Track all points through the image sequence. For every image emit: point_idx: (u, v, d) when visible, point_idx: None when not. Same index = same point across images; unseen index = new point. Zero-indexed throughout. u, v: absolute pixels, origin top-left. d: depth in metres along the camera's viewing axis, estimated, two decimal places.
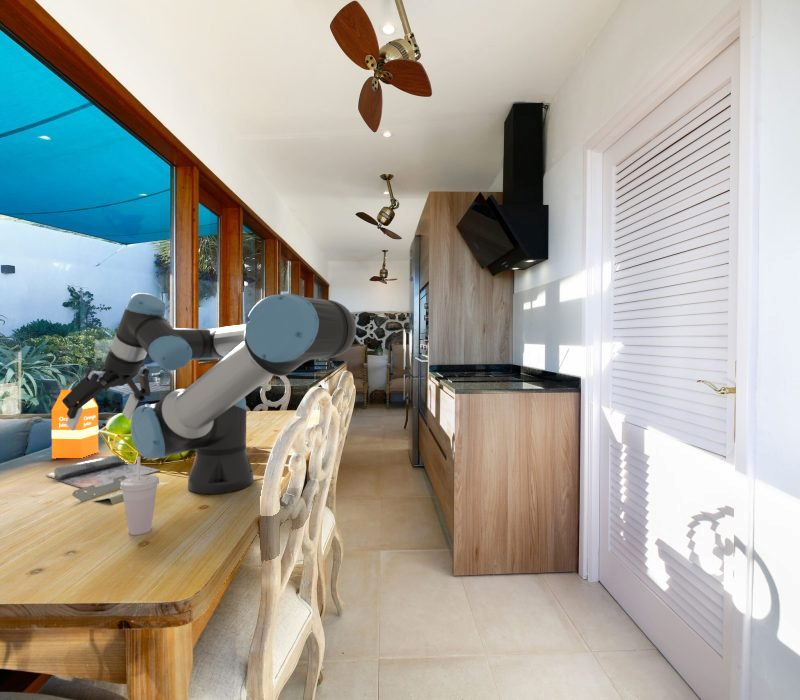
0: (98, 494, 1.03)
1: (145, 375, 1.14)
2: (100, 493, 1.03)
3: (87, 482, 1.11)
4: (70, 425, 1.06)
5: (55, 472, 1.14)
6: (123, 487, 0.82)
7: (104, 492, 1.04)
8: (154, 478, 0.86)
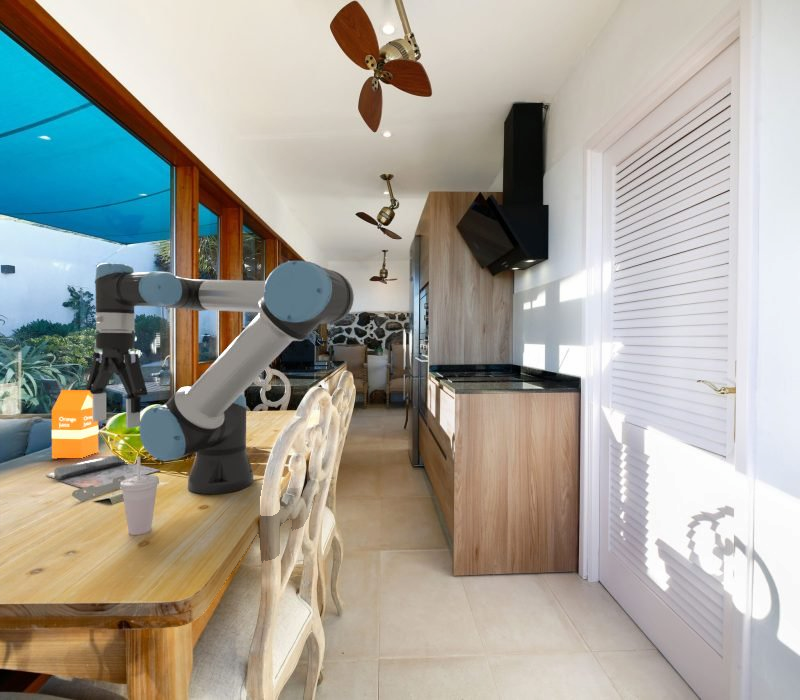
0: (97, 494, 1.03)
1: None
2: (99, 493, 1.03)
3: (87, 482, 1.11)
4: (135, 423, 1.00)
5: (55, 472, 1.14)
6: (123, 487, 0.82)
7: (103, 492, 1.04)
8: (154, 478, 0.86)
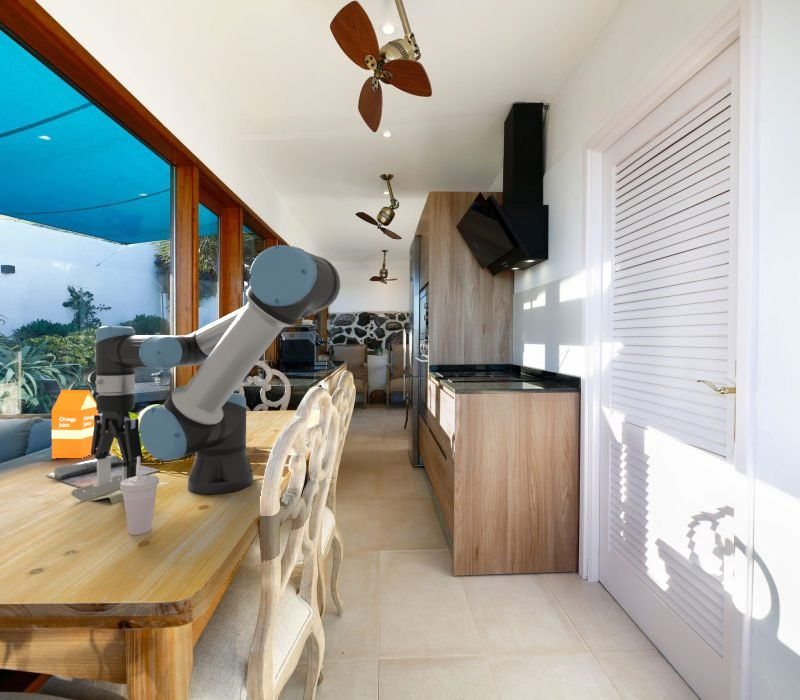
0: (97, 493, 1.03)
1: None
2: (99, 492, 1.03)
3: (87, 482, 1.11)
4: None
5: (55, 472, 1.14)
6: (123, 487, 0.82)
7: (103, 491, 1.04)
8: (154, 478, 0.86)
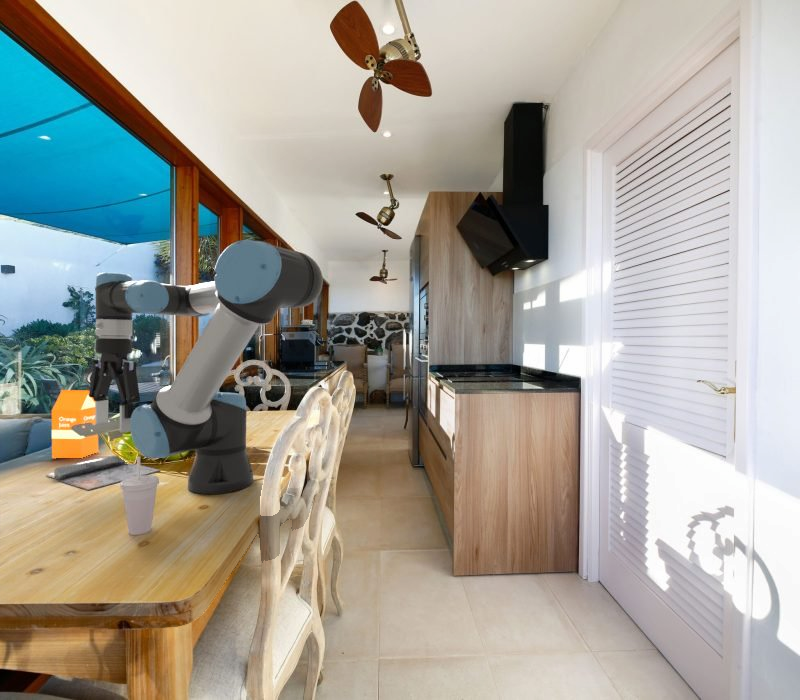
0: (95, 431, 1.08)
1: None
2: (97, 430, 1.09)
3: (87, 482, 1.11)
4: (128, 428, 1.08)
5: (55, 472, 1.14)
6: (123, 487, 0.82)
7: (101, 430, 1.10)
8: (154, 478, 0.86)
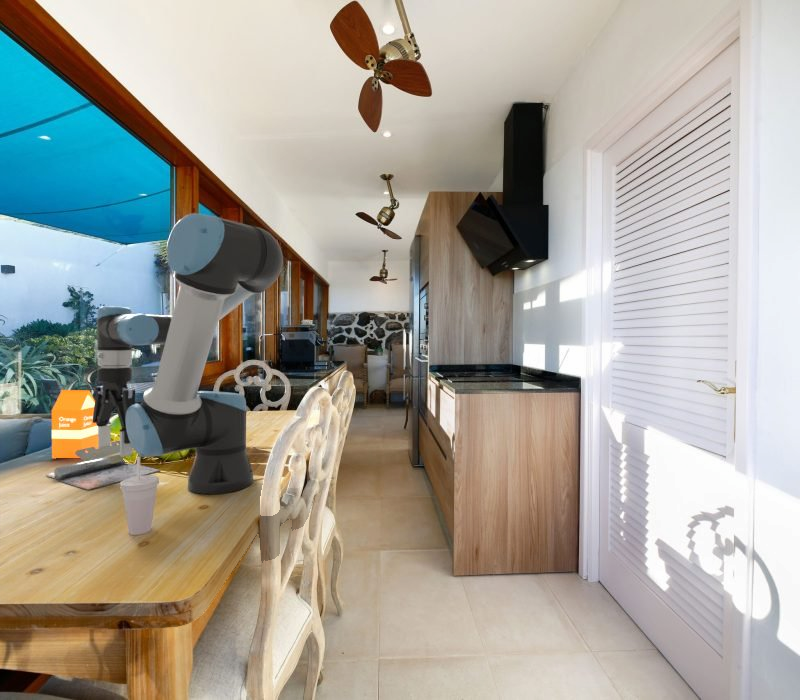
0: (98, 455, 1.15)
1: None
2: (99, 454, 1.16)
3: (87, 482, 1.11)
4: (128, 452, 1.14)
5: (55, 472, 1.14)
6: (123, 487, 0.82)
7: (103, 453, 1.16)
8: (154, 478, 0.86)
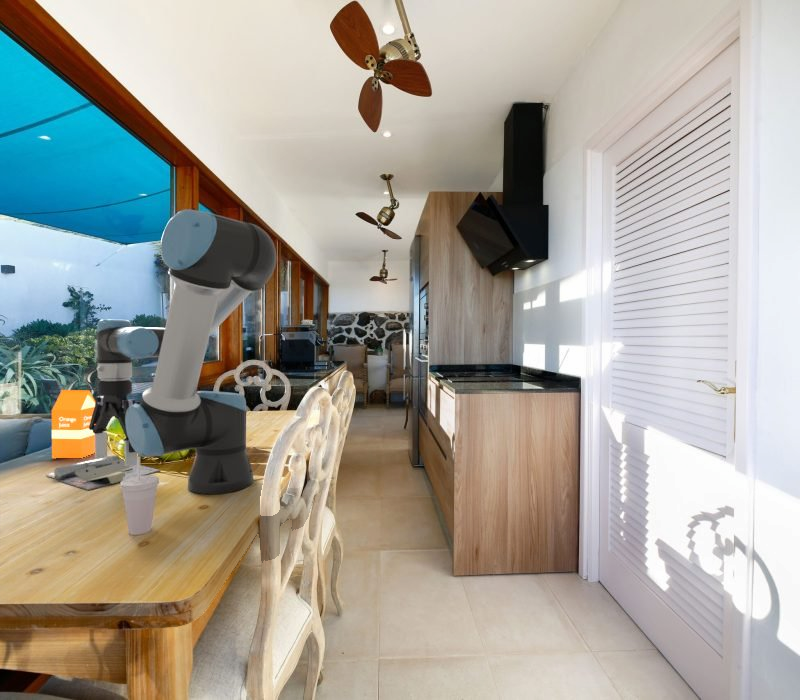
0: (98, 474, 1.15)
1: None
2: (100, 473, 1.16)
3: (87, 482, 1.11)
4: (133, 461, 1.13)
5: (55, 472, 1.14)
6: (123, 487, 0.82)
7: (103, 472, 1.16)
8: (154, 478, 0.86)
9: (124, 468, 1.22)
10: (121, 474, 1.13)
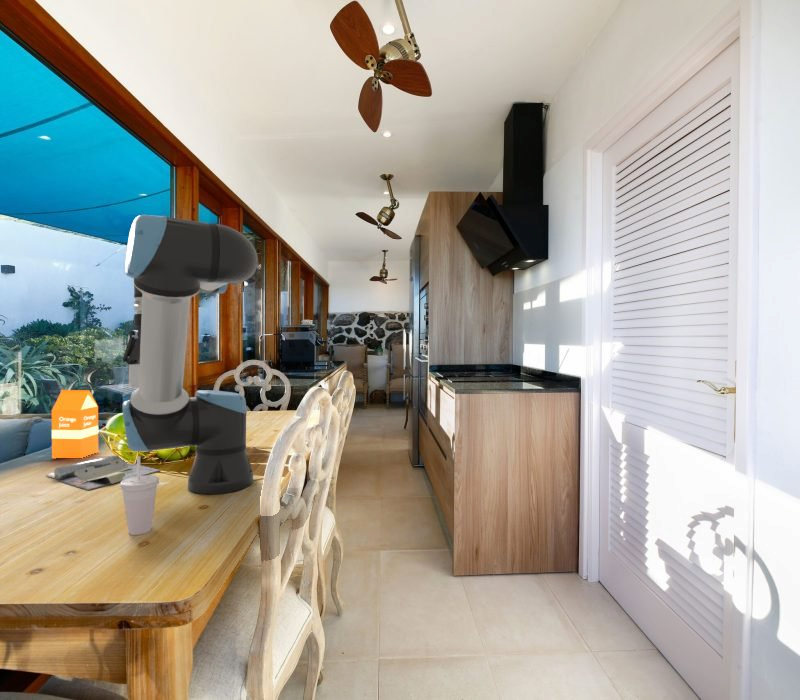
0: (97, 474, 1.15)
1: None
2: (99, 473, 1.16)
3: (87, 482, 1.11)
4: None
5: (55, 472, 1.14)
6: (123, 487, 0.82)
7: (102, 472, 1.16)
8: (154, 478, 0.86)
9: (123, 468, 1.22)
10: (121, 473, 1.13)
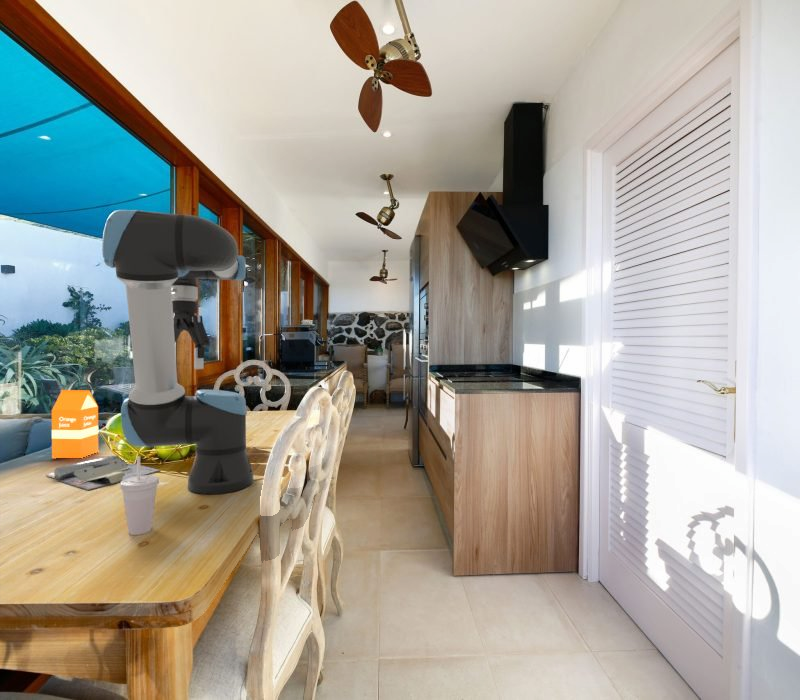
0: (96, 474, 1.15)
1: None
2: (98, 473, 1.16)
3: (87, 482, 1.11)
4: (200, 366, 1.38)
5: (55, 472, 1.14)
6: (123, 487, 0.82)
7: (102, 472, 1.16)
8: (154, 478, 0.86)
9: (122, 468, 1.22)
10: (121, 473, 1.14)
